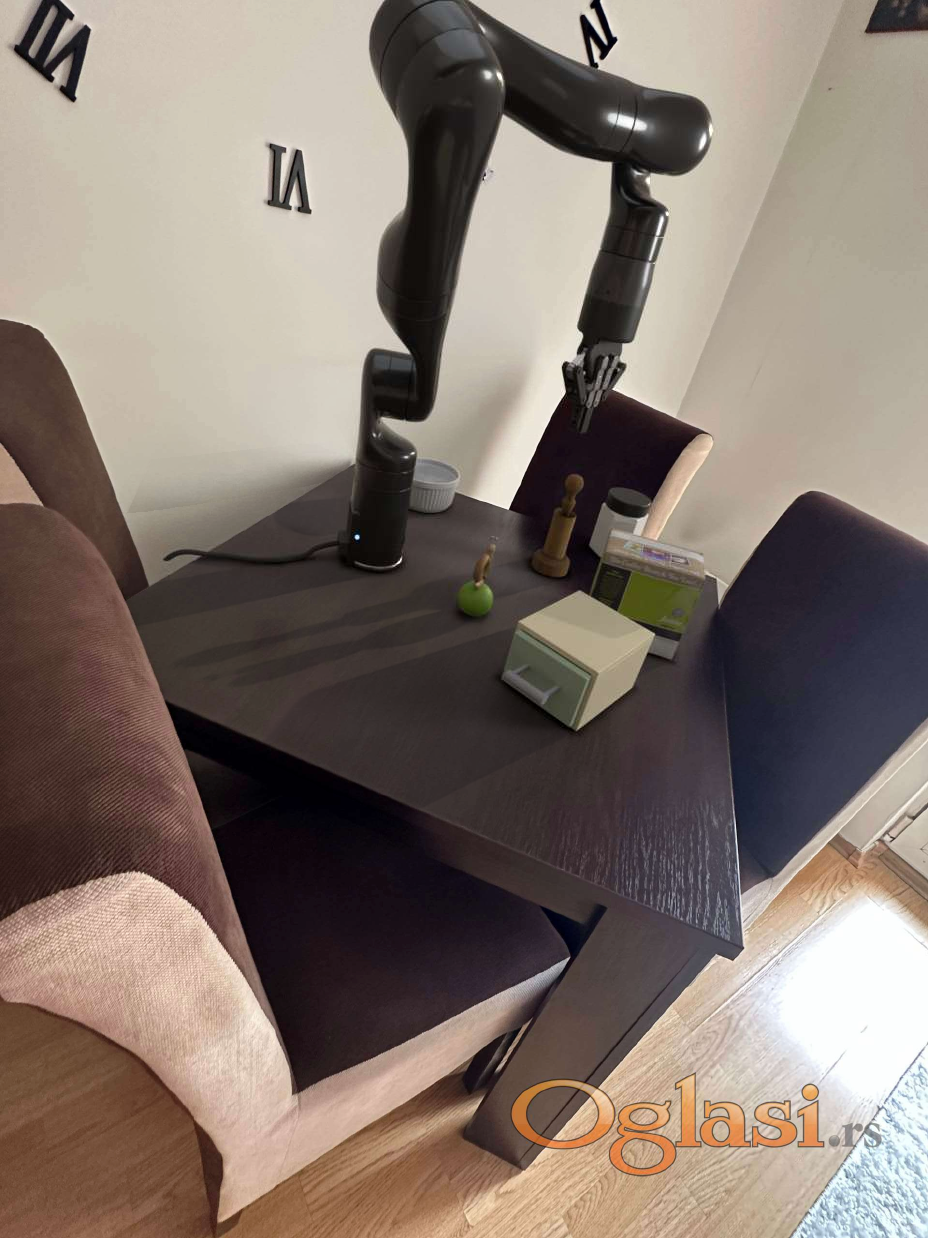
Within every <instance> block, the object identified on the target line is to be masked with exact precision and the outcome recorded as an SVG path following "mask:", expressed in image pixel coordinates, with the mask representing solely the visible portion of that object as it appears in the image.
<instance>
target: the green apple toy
mask: <svg viewBox="0 0 928 1238" xmlns="http://www.w3.org/2000/svg"><path fill="white" fill-rule="evenodd" d="M489 538H490V542H489V544H488V545H487V546H486V552H485V553H484V554H481V556H479V558H478V559H477V562H476V563H475V565H474V569H473V574H472V581H469V582H466V583H465V584H464V585H462V586H461V588H460V589H459V591H458V593H457V604H458V606H459V608H460V610H461V612H463V613H464V614H466V615H468V616H470V617H481V616H483V615H485V614H487V613H488V612H489V611H490V610H491V608H492V606H493V603H494V593H493V592H492V589H491V588H490V587H489V585H487V584H486V583H485V581H486V580H487V578H488V576H489V572H490V569H491V566H492V562H493V558H494V553H495V551H496V542H497V541H498V540H499V538H498V537H497V536H494V535H491V536H490V537H489ZM492 540H494V543H492Z"/></svg>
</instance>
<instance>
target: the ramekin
mask: <svg viewBox="0 0 928 1238" xmlns="http://www.w3.org/2000/svg"><path fill="white" fill-rule="evenodd" d="M460 480H461V474H460V471H459V470H458V469H457V468H456V467H454V466H453V465H452V464H449V463H447V462H445V461H443V460H439V459H434V458H429V457H423V456H421V457H420V456H417V460H416V466H415V472H414V479H413V485H412V492H411V498H410V505H409V510H411V511H414V512H419V513H427V514H434V513H441V512H444V511H445V510H446V509H448V508H449V507H450V506H451V504H452V503H453V500H454V497H455V494H456V491H457V488H458V487H457V486H458V485H459V483H460Z"/></svg>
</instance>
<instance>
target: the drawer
mask: <svg viewBox="0 0 928 1238" xmlns="http://www.w3.org/2000/svg"><path fill="white" fill-rule="evenodd" d="M591 675H592V674H590V673H588V672H587V671H585V670H584V669H582V668H581V667H579V666H578V665H576V664H575V663H573V662H572V661H570V660H568V659H567V658H565V657H564V656H562V655H561V654H559V653H558V652H556V651H555V650H553V649H551V648H550V647H548V646H547V645H545V644H544V643H542V642H541V641H539V640H538V639H536V638H535V637H533V636H531V635H530V634H529V635H528V634H526V633H525V632H523V631H522V630H518V631H516V630H515V631H514V633H513V636H512V640H511V643H510V647H509V651H508V654H507V657H506V662H505V664H504V668H503V672H502V675H501V680H502V681H504V682H505V683H506V684H508V685H509V686H511V687H512V688H513V689H515V690H516V691H517V692H519V693H521V694H522V695H523V696H525V697H526V698H528V699H529V700H530V701H532V703H534V704H536V705H537V706H539V707H540V708H542V709H543V710H544V711H546V712H547V713H549V714H550V715H552V716H553V717H554V718H556V719H557V720H559V721H560V722H561V723H563V724H564V725H566V726H567V727H568V728H571V727H570V726H571V725H573V724H574V723H575V720H576V718H577V715H578V712H579V710H580V707H581V705H582V702H583V699H584V697H585V694H586V692H587V689H588V686H589V684H590V681H591V678H592V676H591Z"/></svg>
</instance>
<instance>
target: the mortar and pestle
mask: <svg viewBox="0 0 928 1238" xmlns="http://www.w3.org/2000/svg"><path fill="white" fill-rule="evenodd" d="M564 483H565V485H564V486H565V490H566V496H565V497H563V498H562V502H561V503H562V504H561V505H562V506H561V507H557V508H555V509H554V511H553V515H552V517H551V518H552V519H551V522H550V525H549V529H548V532H547V535H546V539H545V542H544V546H543V547H542V548H540V549H537V550H535V551H534V553H533V556H532V560H531V567H532V568H533V570H535V571H536V572H538V573H540V574H542V575H544V576H548V577H551V578H561V577H564V576H566V575H567V574H568V571H569V567H570V564H571V560H570V558H569V557H568V556H567V554H566V552H567V548H568V545H569V542H570V538H571V534H572V532H573V528H574V525H575V522H576V519H577V513H575V511H573V509H574V508H575V505H576V503H577V501H576V499H575V498H576V495H577V494H578V493H580V491H581V490H582V489H583V487H584V484H585V483H584V479H583V477H582V476H581V475H579V474H576V473H572V474H570V475H568V476H567V477H566V479H565V482H564Z"/></svg>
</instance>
